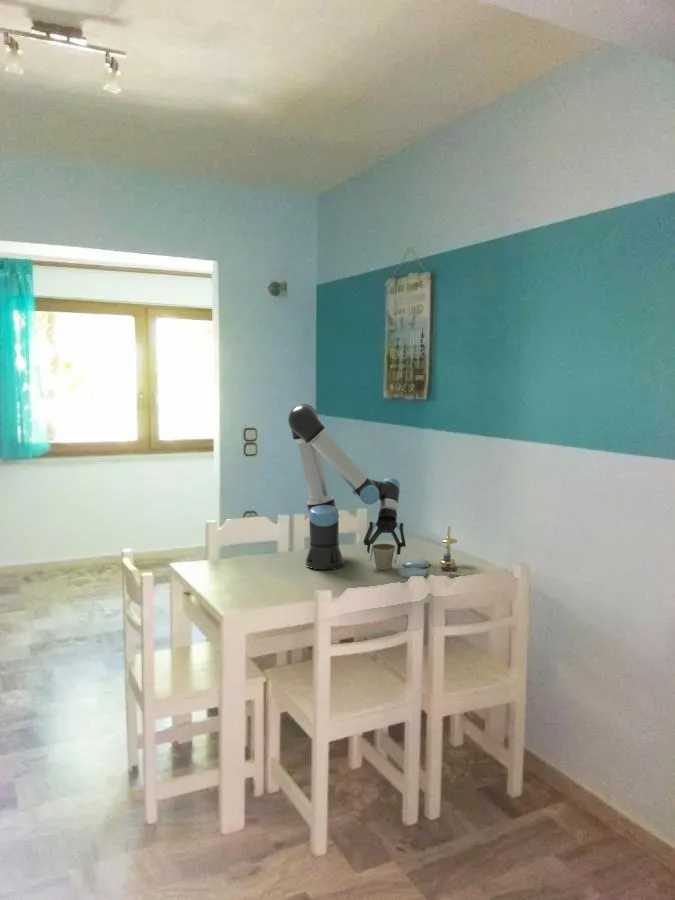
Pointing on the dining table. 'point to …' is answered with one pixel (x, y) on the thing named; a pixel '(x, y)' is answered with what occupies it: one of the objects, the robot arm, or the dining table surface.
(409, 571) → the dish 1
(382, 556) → the flower pot
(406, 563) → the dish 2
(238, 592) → the dining table surface
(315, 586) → the dining table surface
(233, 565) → the dining table surface
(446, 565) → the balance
